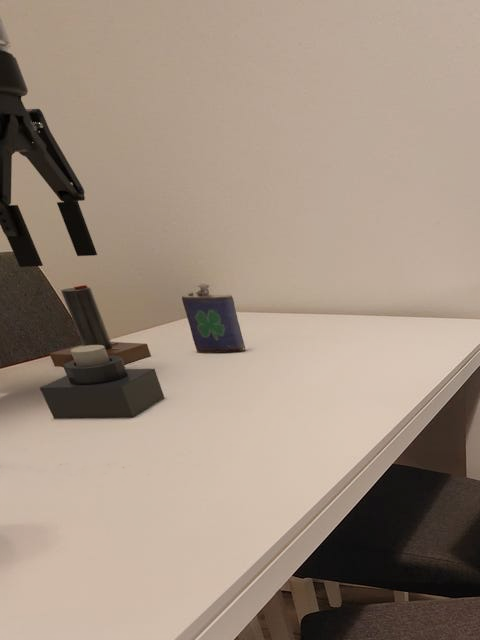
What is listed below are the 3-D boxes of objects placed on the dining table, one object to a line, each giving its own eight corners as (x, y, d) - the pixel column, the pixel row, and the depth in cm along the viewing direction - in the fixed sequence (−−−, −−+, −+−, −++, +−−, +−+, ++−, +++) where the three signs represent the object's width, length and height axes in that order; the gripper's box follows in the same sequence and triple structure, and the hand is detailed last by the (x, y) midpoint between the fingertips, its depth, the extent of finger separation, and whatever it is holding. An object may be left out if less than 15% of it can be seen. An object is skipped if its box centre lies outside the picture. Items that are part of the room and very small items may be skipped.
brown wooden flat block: (54, 365, 102) (48, 352, 101) (99, 352, 109) (94, 339, 108) (108, 369, 99) (103, 355, 98) (151, 355, 106) (146, 342, 105)
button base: (53, 419, 78) (31, 371, 75) (91, 399, 85) (73, 354, 82) (133, 418, 78) (114, 369, 74) (164, 398, 85) (149, 353, 81)
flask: (247, 349, 109) (231, 282, 102) (241, 352, 106) (223, 284, 100) (200, 349, 110) (180, 283, 103) (193, 353, 107) (172, 285, 101)
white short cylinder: (70, 369, 77) (63, 352, 75) (88, 361, 80) (81, 345, 78) (100, 368, 76) (93, 351, 75) (116, 361, 80) (110, 344, 78)
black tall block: (98, 351, 101) (74, 289, 95) (79, 350, 102) (53, 288, 96) (118, 345, 104) (95, 285, 98) (98, 344, 105) (75, 284, 99)
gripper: (13, 67, 80) (83, 252, 93) (-143, 31, 60) (-26, 272, 73) (67, 64, 80) (130, 251, 93) (-73, 27, 60) (32, 270, 73)
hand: (61, 260), depth 83 cm, fingers open, 13 cm apart
